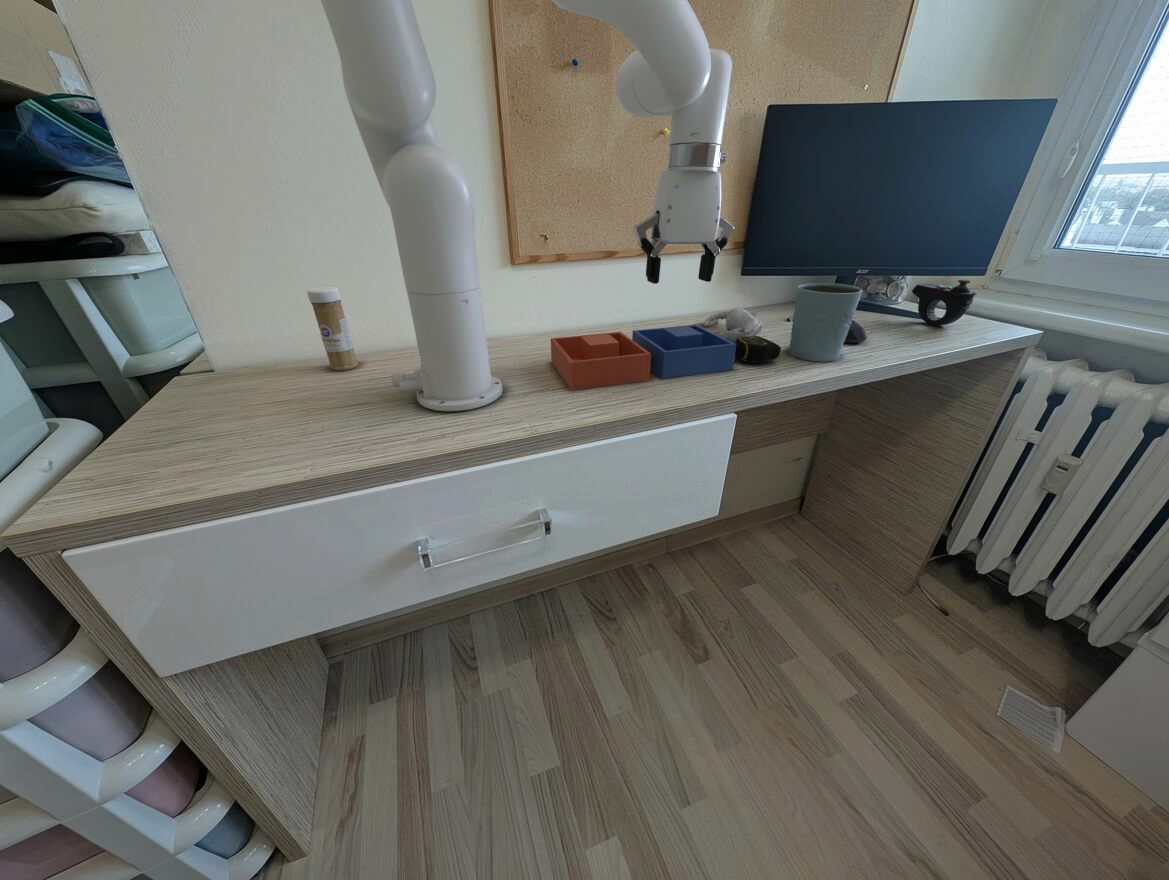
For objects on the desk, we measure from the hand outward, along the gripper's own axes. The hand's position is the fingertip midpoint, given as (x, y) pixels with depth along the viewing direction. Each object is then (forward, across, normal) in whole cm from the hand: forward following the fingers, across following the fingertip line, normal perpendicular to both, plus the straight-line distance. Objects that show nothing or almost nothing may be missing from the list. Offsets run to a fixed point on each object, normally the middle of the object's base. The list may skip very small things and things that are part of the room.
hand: (679, 281), depth 73 cm
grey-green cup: (+13, -26, +6) cm, 30 cm away
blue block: (+13, -1, +2) cm, 13 cm away
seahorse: (+13, -19, -10) cm, 25 cm away
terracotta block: (+13, +14, +2) cm, 20 cm away
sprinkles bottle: (+15, +57, -14) cm, 60 cm away
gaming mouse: (+13, -39, -3) cm, 42 cm away
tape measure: (+13, -14, +5) cm, 20 cm away
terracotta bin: (+14, +15, +2) cm, 20 cm away
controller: (+12, -67, -3) cm, 68 cm away
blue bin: (+14, -1, +2) cm, 14 cm away
